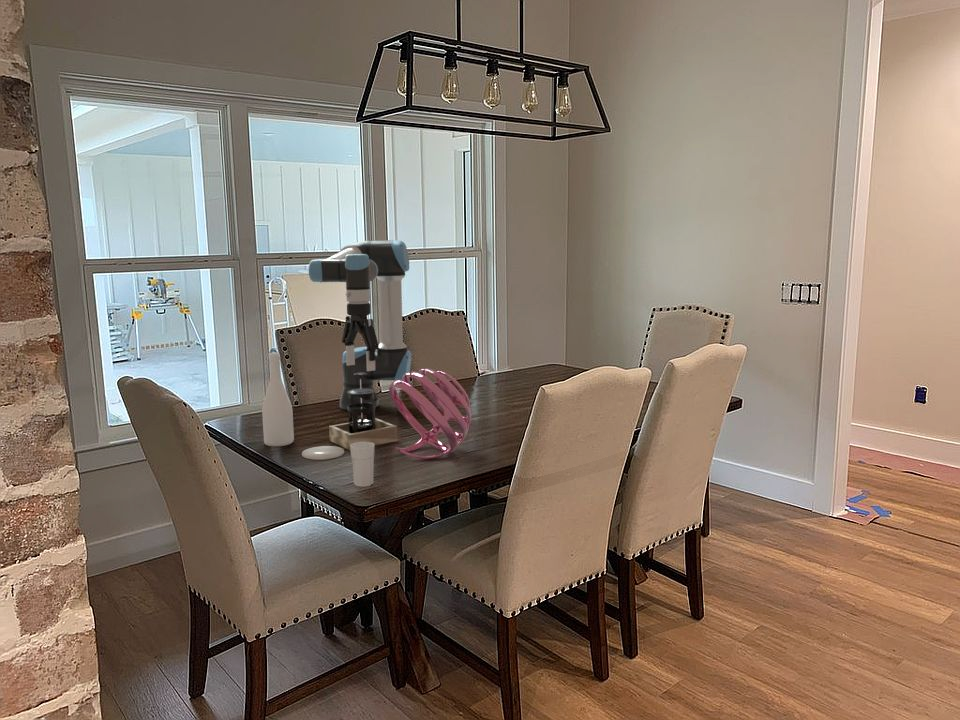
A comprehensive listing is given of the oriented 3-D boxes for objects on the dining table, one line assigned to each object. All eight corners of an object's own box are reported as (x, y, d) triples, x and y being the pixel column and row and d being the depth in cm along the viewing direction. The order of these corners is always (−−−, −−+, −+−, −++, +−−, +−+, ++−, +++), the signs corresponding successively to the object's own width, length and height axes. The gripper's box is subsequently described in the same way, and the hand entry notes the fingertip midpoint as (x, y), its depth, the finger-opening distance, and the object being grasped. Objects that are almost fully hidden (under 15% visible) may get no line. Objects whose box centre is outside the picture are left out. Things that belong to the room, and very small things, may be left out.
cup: (362, 489, 205) (360, 449, 203) (346, 484, 209) (344, 445, 208) (380, 483, 210) (379, 444, 208) (365, 478, 214) (363, 440, 212)
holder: (329, 440, 252) (329, 426, 252) (375, 431, 263) (375, 417, 262) (350, 450, 241) (349, 435, 240) (397, 440, 252) (397, 426, 251)
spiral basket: (375, 407, 215) (444, 346, 224) (352, 410, 240) (414, 355, 250) (437, 480, 220) (501, 418, 229) (408, 475, 245) (467, 419, 255)
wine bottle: (269, 439, 255) (264, 350, 250) (297, 439, 254) (292, 350, 249) (260, 447, 245) (254, 355, 240) (289, 447, 245) (284, 355, 240)
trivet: (295, 452, 239) (294, 450, 239) (332, 445, 247) (332, 443, 247) (313, 462, 229) (313, 460, 229) (351, 454, 237) (351, 452, 237)
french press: (367, 446, 245) (364, 376, 241) (341, 444, 248) (339, 375, 244) (384, 437, 256) (382, 370, 252) (359, 435, 259) (357, 368, 255)
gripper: (330, 300, 252) (332, 364, 255) (367, 306, 232) (369, 374, 236) (350, 299, 256) (352, 361, 260) (388, 304, 237) (390, 371, 240)
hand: (360, 367), depth 248 cm, fingers open, 13 cm apart
